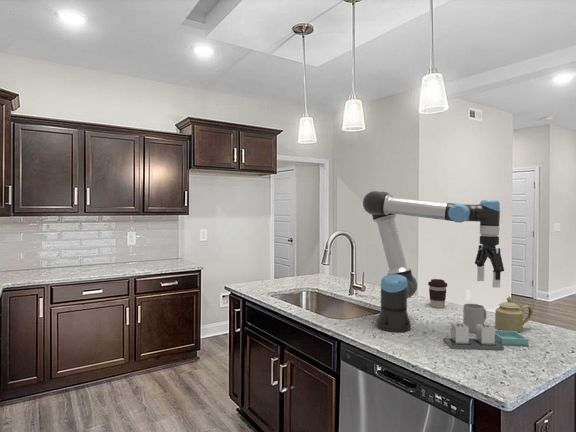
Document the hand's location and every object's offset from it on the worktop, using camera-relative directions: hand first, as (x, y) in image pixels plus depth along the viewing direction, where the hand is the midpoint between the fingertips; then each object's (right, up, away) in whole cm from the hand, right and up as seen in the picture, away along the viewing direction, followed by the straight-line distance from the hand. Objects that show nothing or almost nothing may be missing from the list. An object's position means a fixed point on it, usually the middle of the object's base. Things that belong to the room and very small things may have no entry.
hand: (488, 284), depth 167 cm
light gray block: (-18, -22, -13) cm, 31 cm away
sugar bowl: (+15, -22, +9) cm, 28 cm away
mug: (-2, -22, +7) cm, 23 cm away
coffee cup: (-4, -21, +46) cm, 51 cm away
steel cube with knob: (-8, -22, -13) cm, 27 cm away
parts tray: (+4, -22, -8) cm, 24 cm away
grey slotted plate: (-13, -22, -13) cm, 29 cm away
